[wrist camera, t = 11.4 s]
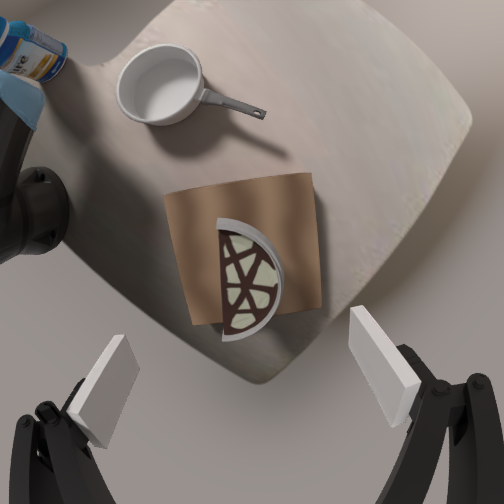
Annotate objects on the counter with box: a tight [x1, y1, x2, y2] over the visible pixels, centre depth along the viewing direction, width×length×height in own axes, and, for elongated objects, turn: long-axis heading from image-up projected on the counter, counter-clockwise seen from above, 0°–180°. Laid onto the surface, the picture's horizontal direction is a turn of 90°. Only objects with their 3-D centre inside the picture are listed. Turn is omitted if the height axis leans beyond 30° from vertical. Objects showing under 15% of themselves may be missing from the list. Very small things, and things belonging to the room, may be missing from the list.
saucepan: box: [116, 43, 267, 126], centre depth 30 cm, size 12×20×6 cm, turn 67°
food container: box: [216, 218, 284, 342], centre depth 29 cm, size 12×6×10 cm, turn 0°
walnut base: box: [163, 173, 322, 325], centre depth 36 cm, size 18×18×5 cm
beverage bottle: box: [0, 17, 68, 82], centre depth 18 cm, size 8×8×20 cm
